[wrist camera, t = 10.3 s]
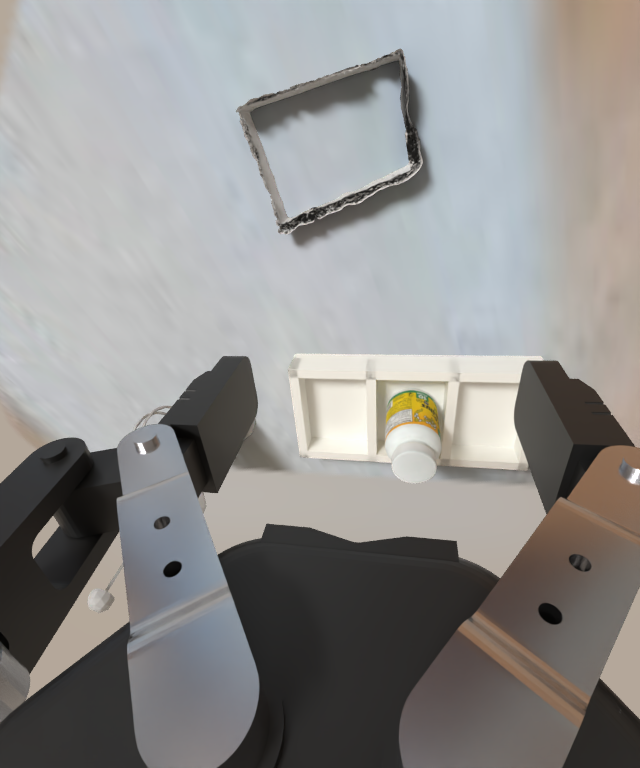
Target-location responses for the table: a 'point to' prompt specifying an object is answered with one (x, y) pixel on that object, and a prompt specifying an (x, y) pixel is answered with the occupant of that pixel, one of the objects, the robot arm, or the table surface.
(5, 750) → the robot arm
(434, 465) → the supplement bottle
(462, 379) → the rack
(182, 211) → the table surface
